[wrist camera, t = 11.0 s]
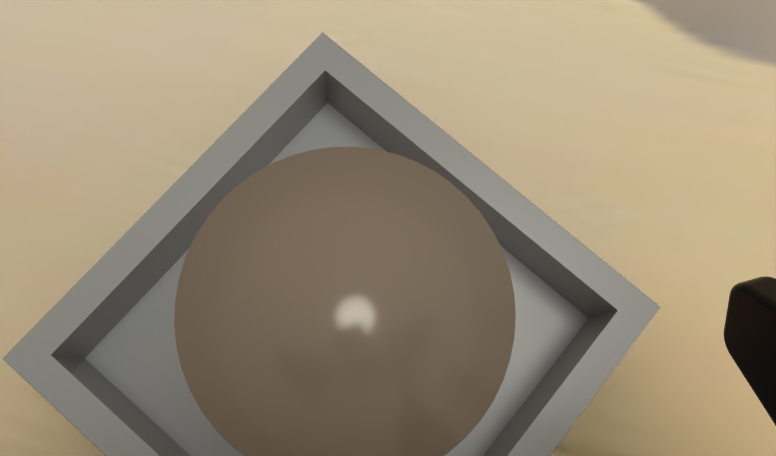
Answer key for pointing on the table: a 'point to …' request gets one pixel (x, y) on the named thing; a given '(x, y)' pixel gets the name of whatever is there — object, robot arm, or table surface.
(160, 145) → the table surface
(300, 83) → the tray
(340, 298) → the terracotta jar
